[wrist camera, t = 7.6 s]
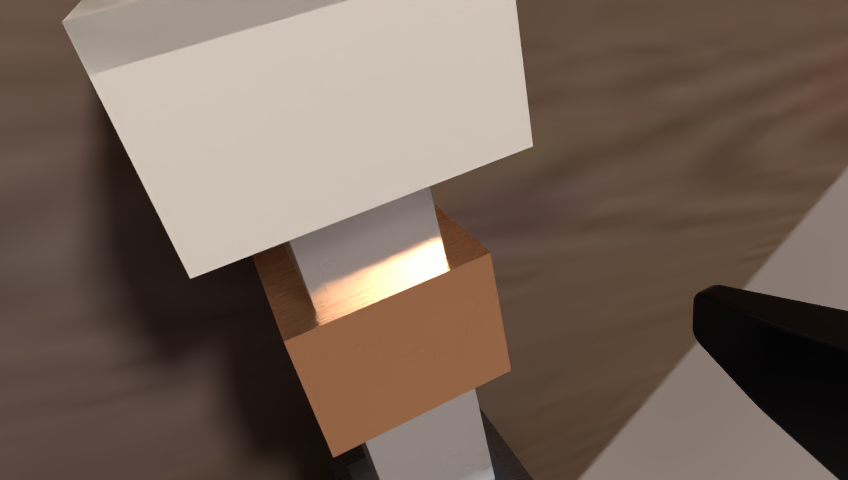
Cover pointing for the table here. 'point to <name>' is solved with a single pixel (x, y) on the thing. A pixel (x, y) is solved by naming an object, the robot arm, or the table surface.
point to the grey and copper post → (393, 336)
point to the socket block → (299, 107)
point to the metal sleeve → (508, 470)
